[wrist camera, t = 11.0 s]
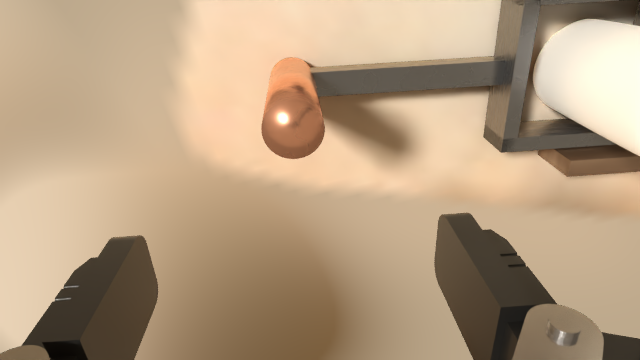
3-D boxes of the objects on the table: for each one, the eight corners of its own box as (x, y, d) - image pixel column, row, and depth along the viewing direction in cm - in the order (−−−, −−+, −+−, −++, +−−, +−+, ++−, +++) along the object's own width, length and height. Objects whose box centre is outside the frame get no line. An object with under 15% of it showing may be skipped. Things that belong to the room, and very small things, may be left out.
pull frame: (262, -2, 27) (248, 15, 18) (660, -24, 28) (837, -19, 19) (277, 151, 31) (272, 224, 23) (617, 127, 32) (742, 189, 23)
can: (617, 2, 29) (811, 24, 18) (622, 90, 32) (792, 153, 21) (523, 39, 29) (656, 81, 19) (536, 121, 32) (658, 199, 22)
